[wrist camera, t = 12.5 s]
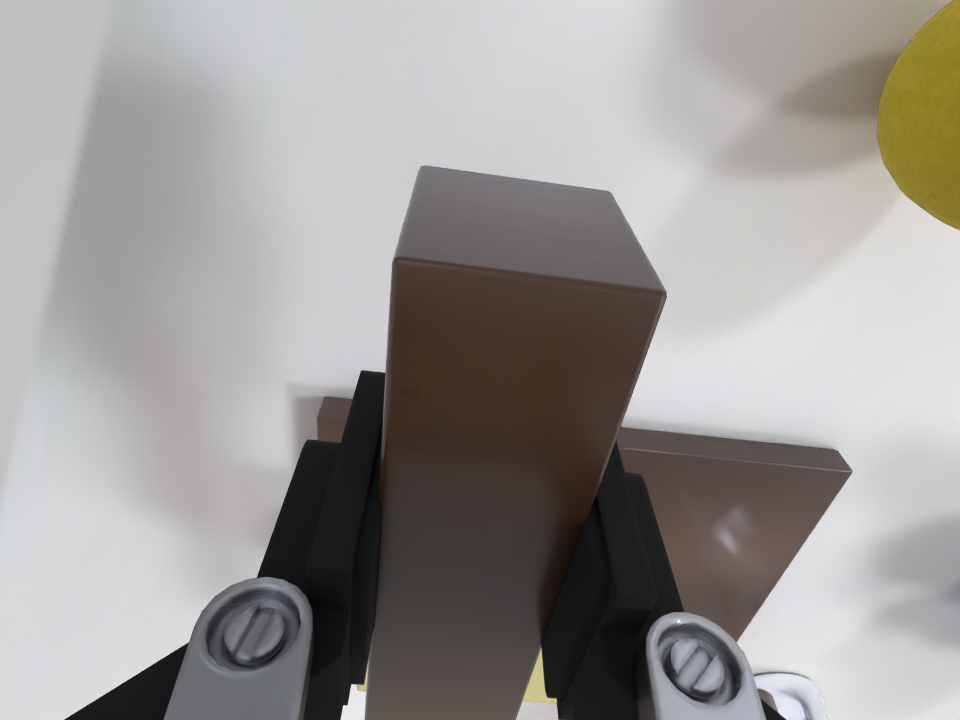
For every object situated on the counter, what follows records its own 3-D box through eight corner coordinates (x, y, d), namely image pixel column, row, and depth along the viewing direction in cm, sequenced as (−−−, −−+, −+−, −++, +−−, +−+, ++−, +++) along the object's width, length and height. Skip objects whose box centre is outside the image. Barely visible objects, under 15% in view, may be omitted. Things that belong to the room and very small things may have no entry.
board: (324, 396, 22) (316, 417, 21) (838, 449, 23) (853, 471, 22) (326, 639, 30) (321, 662, 30) (698, 666, 32) (705, 688, 31)
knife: (419, 163, 8) (391, 258, 6) (612, 190, 9) (671, 293, 6) (368, 796, 21) (352, 919, 18) (448, 800, 21) (443, 923, 18)
